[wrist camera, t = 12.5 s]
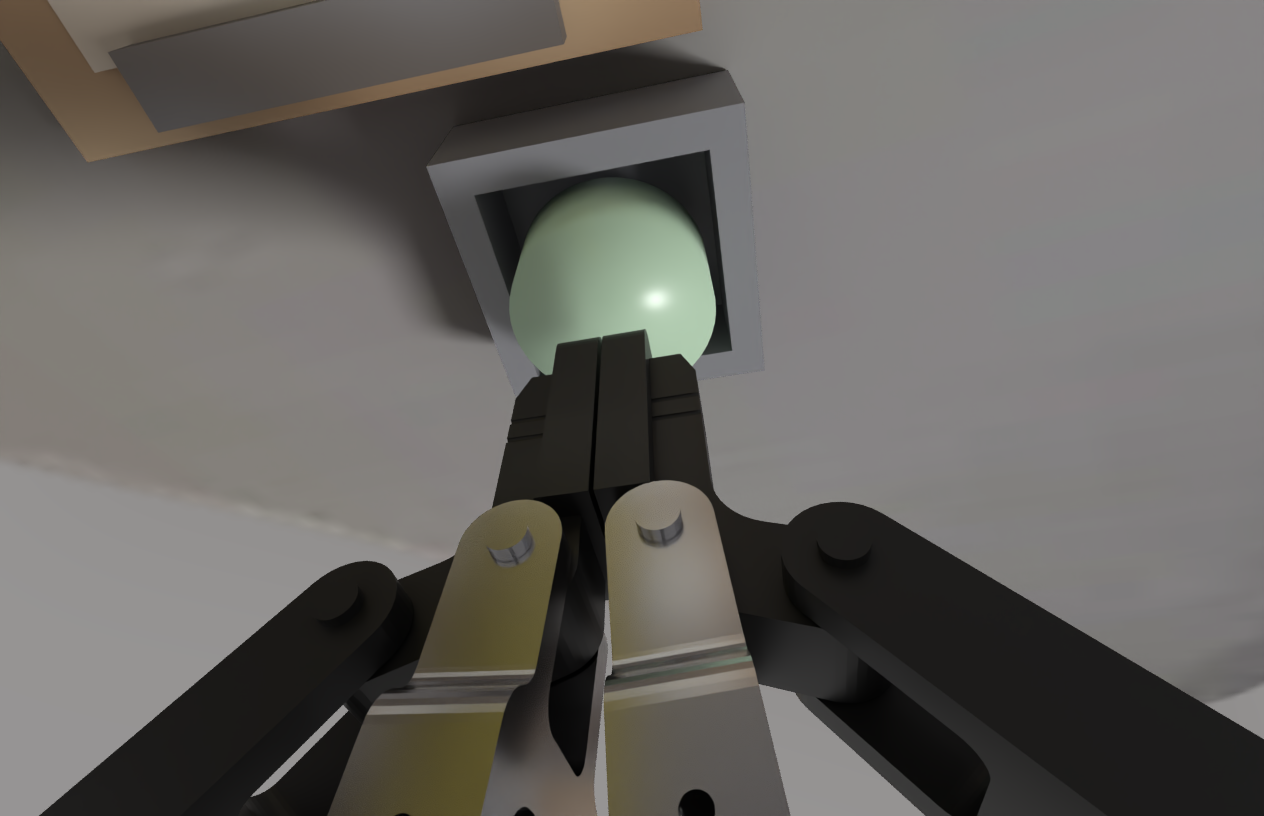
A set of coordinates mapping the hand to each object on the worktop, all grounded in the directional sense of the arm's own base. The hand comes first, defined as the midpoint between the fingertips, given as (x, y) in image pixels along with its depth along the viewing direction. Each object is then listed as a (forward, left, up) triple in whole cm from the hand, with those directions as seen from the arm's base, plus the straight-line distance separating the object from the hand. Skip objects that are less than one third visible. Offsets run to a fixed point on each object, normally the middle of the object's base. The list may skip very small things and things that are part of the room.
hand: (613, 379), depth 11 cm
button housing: (0, 0, -6) cm, 6 cm away
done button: (0, 0, -4) cm, 4 cm away
